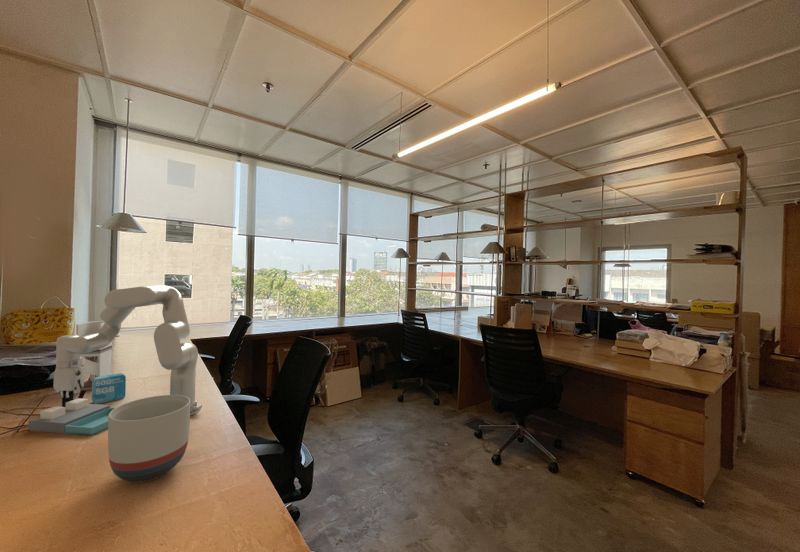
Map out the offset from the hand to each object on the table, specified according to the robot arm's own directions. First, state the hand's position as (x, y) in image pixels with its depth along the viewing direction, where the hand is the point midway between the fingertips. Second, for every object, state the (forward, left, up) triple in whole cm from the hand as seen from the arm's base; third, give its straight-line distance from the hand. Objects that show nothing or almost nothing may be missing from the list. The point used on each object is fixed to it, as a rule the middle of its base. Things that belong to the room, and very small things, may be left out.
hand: (67, 405), depth 142 cm
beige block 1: (-5, +9, 0) cm, 10 cm away
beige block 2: (-5, 0, 0) cm, 5 cm away
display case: (+27, -34, -5) cm, 44 cm away
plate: (-8, +5, -4) cm, 10 cm away
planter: (-71, +33, -5) cm, 78 cm away
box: (-22, +5, -4) cm, 23 cm away
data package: (0, -18, -5) cm, 19 cm away
